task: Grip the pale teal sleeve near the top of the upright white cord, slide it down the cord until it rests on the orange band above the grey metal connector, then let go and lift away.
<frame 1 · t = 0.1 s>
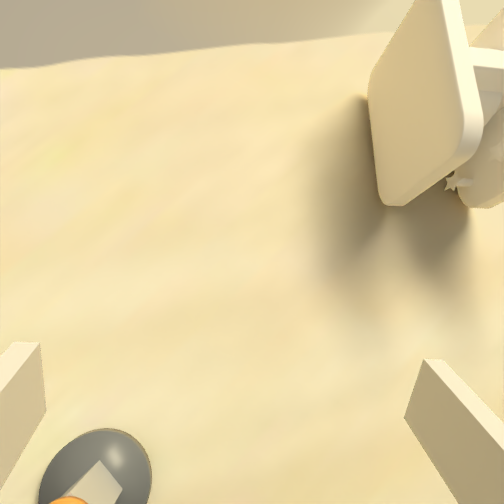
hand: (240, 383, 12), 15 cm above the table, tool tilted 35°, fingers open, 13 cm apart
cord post: (99, 483, 24), on the table
cable organizer: (416, 146, 35), on the table
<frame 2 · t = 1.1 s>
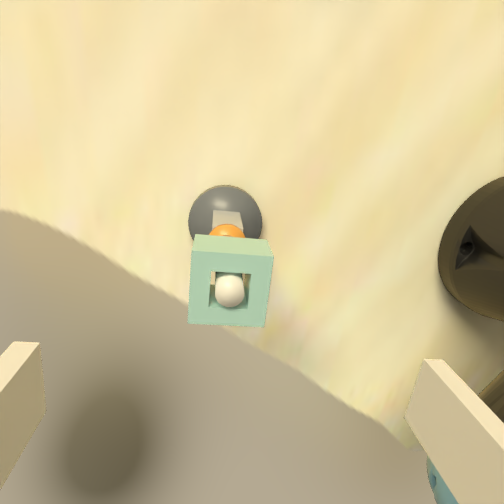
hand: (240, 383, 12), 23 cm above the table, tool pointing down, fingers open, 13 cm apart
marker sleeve: (229, 279, 21), point 14 cm above the table, slide at 0.0 cm
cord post: (225, 220, 34), on the table
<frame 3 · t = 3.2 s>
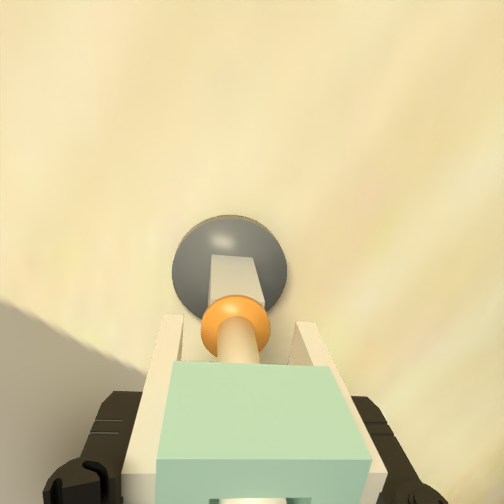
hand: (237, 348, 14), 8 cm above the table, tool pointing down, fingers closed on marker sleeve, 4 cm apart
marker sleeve: (249, 470, 9), point 14 cm above the table, slide at 0.0 cm, touching gripper
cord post: (229, 268, 22), on the table
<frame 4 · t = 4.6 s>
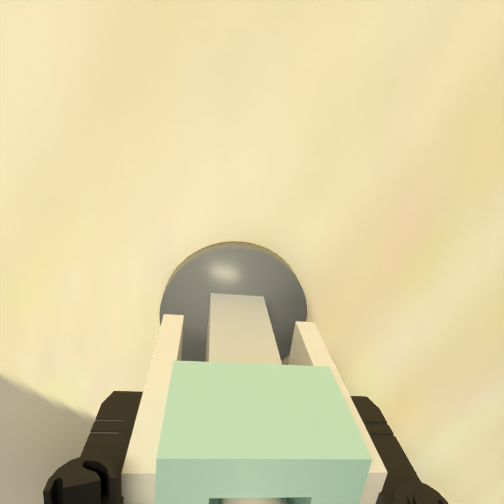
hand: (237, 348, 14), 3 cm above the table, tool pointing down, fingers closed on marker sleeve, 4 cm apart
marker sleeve: (249, 470, 9), point 9 cm above the table, slide at -4.9 cm, touching gripper
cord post: (233, 307, 17), on the table
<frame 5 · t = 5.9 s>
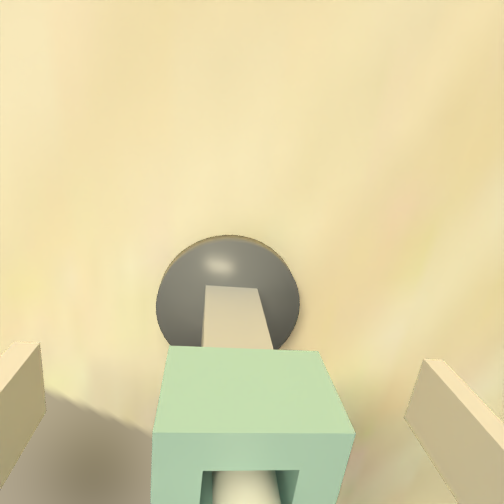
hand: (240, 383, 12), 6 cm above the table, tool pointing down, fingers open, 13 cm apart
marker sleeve: (241, 449, 10), point 9 cm above the table, slide at -5.0 cm
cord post: (228, 299, 18), on the table
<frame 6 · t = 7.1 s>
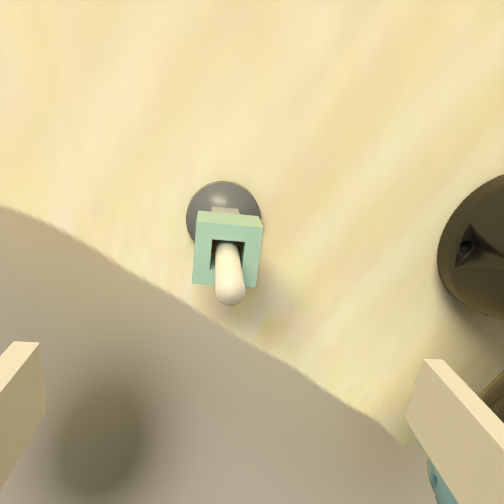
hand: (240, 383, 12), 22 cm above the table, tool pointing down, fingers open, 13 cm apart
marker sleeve: (226, 248, 25), point 9 cm above the table, slide at -5.0 cm
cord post: (223, 217, 33), on the table
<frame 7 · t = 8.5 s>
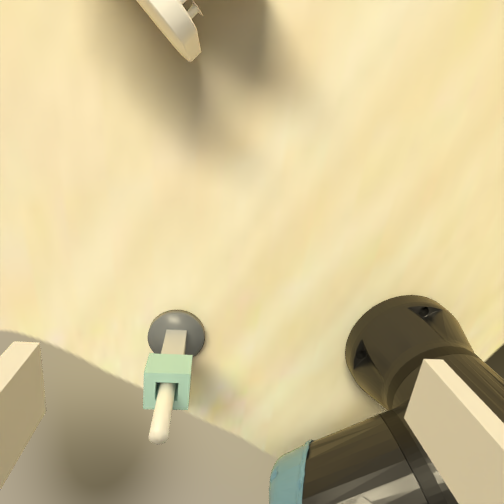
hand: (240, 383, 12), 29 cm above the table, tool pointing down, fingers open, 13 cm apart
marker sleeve: (168, 381, 36), point 9 cm above the table, slide at -5.0 cm
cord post: (177, 333, 44), on the table
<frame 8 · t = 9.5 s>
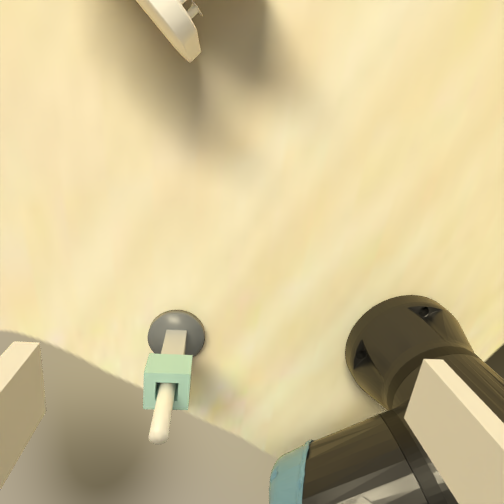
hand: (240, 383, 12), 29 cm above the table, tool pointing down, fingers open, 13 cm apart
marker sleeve: (168, 381, 36), point 9 cm above the table, slide at -5.0 cm
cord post: (177, 333, 44), on the table
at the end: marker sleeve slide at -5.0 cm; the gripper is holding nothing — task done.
